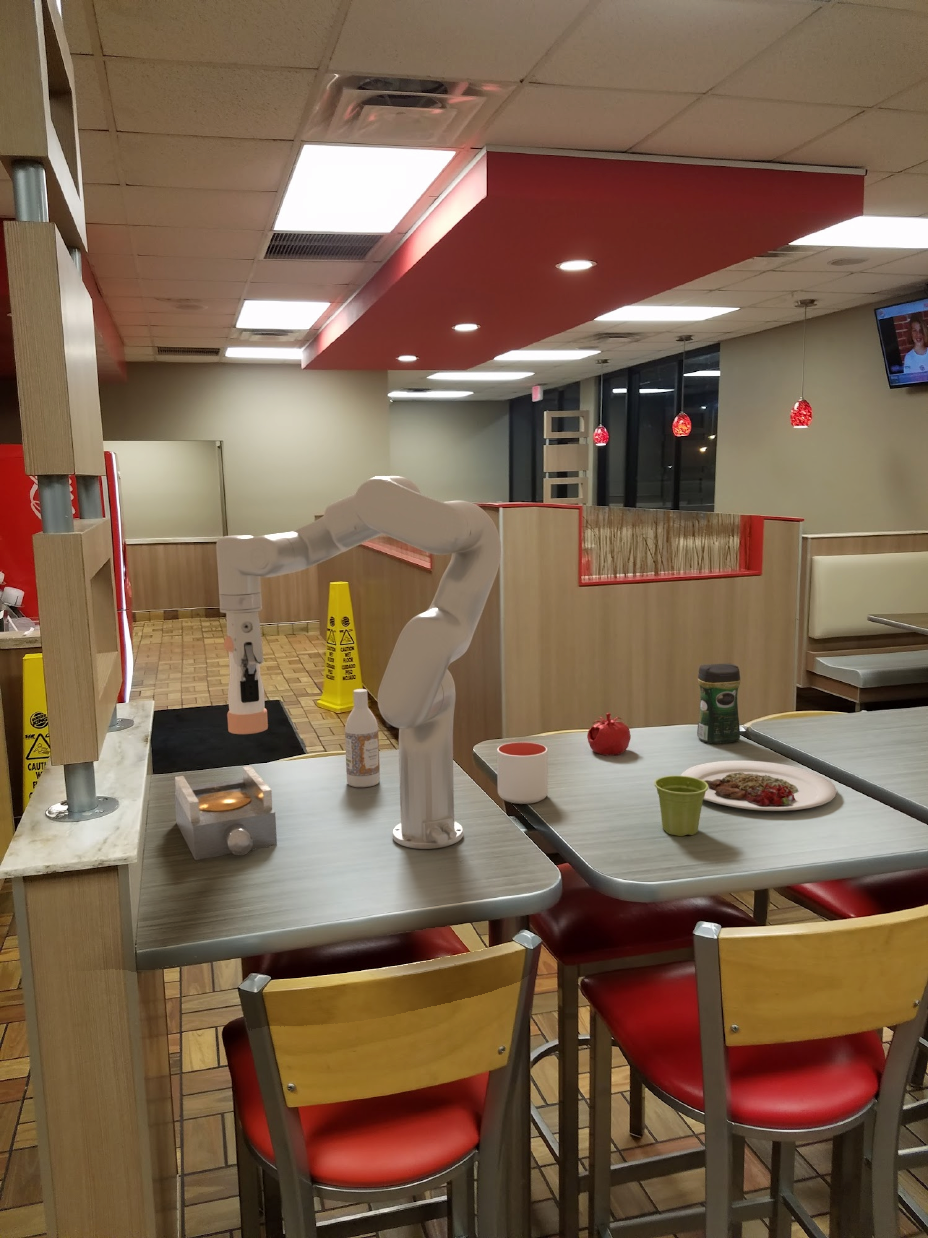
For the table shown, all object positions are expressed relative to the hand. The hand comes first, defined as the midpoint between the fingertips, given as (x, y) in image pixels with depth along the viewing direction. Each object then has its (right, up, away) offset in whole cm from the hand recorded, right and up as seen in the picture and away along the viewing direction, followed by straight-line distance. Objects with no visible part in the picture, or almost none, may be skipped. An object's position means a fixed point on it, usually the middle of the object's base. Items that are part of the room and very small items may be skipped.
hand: (246, 696), depth 173 cm
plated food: (+99, -20, +13) cm, 102 cm away
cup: (+52, -21, +12) cm, 58 cm away
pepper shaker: (0, -6, +1) cm, 6 cm away
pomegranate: (+74, -16, +42) cm, 87 cm away
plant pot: (+79, -24, -7) cm, 83 cm away
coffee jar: (+102, -15, +50) cm, 114 cm away
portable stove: (-2, -25, -6) cm, 26 cm away
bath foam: (+19, -20, +23) cm, 36 cm away
